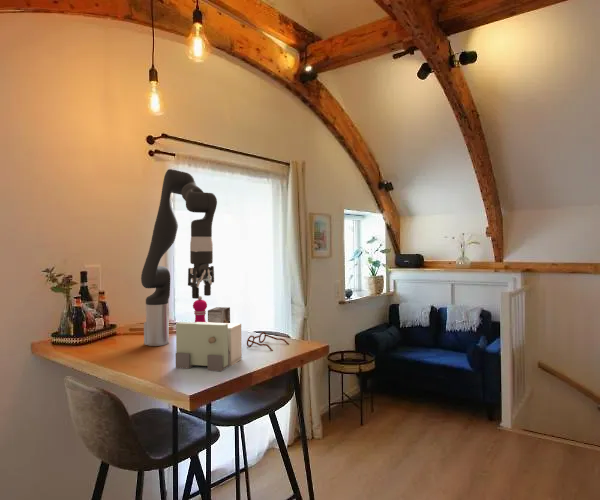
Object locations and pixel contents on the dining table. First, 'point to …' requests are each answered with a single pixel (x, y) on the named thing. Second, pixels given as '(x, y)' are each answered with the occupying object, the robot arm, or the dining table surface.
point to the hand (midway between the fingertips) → (201, 296)
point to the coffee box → (219, 315)
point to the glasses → (263, 340)
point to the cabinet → (217, 360)
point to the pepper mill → (200, 310)
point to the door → (202, 341)
